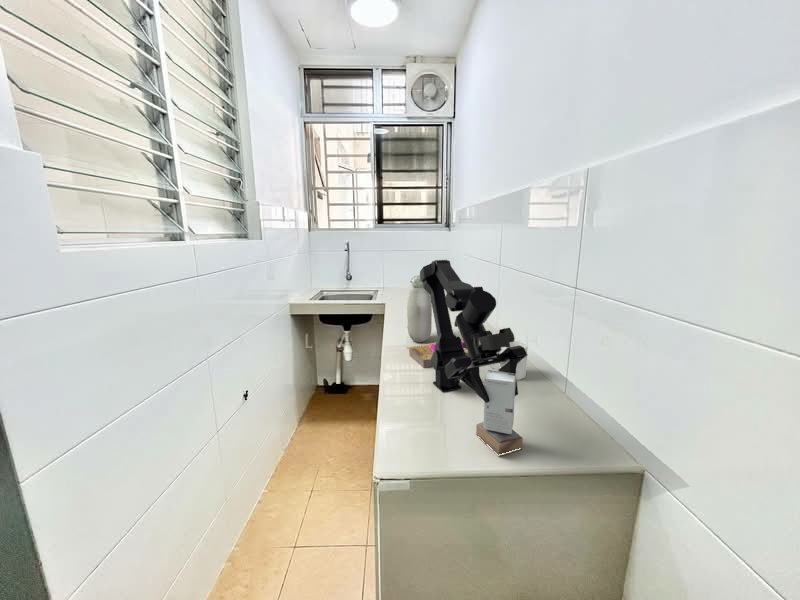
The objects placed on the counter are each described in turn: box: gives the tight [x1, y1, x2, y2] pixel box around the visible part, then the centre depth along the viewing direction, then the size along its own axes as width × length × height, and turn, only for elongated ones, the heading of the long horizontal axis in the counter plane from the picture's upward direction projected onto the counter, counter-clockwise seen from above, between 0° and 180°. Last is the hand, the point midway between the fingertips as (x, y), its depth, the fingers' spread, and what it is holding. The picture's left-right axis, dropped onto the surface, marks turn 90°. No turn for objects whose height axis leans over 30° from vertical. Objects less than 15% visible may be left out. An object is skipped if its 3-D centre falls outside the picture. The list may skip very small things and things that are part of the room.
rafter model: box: [405, 338, 499, 369], centre depth 123 cm, size 35×14×6 cm, turn 111°
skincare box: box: [483, 369, 516, 434], centre depth 71 cm, size 6×4×12 cm
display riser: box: [475, 421, 524, 455], centre depth 72 cm, size 6×8×3 cm
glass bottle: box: [406, 275, 433, 343], centre depth 137 cm, size 10×10×28 cm
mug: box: [488, 340, 529, 381], centre depth 105 cm, size 12×8×10 cm
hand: (502, 398), depth 70 cm, fingers closed on skincare box, 7 cm apart
